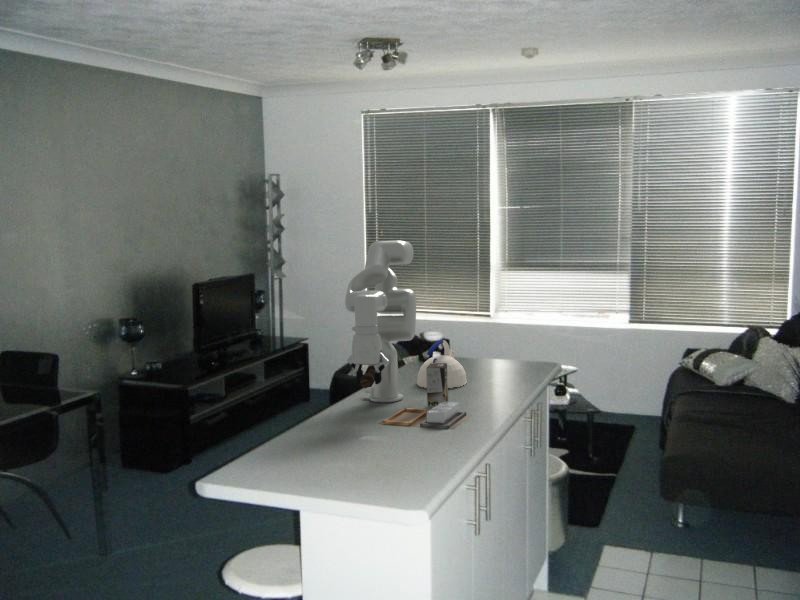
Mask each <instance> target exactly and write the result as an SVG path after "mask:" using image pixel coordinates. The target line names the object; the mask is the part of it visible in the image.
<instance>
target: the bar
mask: <svg viewBox="0 0 800 600" xmlns="http://www.w3.org/2000/svg"><path fill="white" fill-rule="evenodd" d="M460 407H461V406H460V402H455V401H448V402H441V403H440V404H438V405H437V406H435V407H434V408H432V409H431V410H429V411H428V412H427V423H428V424H442V425H447V424H449V423H450V422H451V421H453V420H454V419H455V418H457V417H458V416H459V415H460V412H461V411H460V409H461V408H460Z"/></svg>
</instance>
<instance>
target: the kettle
mask: <svg viewBox="0 0 800 600" xmlns="http://www.w3.org/2000/svg"><path fill="white" fill-rule="evenodd" d="M441 344H442V345H443V348H444V349H443V350H444V353H443V354H441V355H435V356H432V355H433V352H434V351H435V350H436V348H437V347H438V346H440V345H441ZM456 355H457V353H456V351H455V350H453V349H450V345H449V343H448V342H447V341H446V340H445V339H444V340H443V339H440V340H437V341H435V343H433V344H432V345H431V346H430V348H429V350H428V351H427V353H426V356H432V357H430V358H428V359H427V360H426V361H424V363H423V364H422V365H421V366H420V368H419V369H418V373H417V382H416V385H417V386H418V387H420V388H423V387H424V389H427V372H426V368H427V367H428V365H429V364H430V363H432V364H435V363H447V377H448V388H450V389H454V388H453V387H457V388H461V387H464V386H466V385H467V384H466V383H468V382H467V381H468V380H467V373H466V371H465V368H464V366H463V365H462V364H461V363H460V362H459V361H458V360H456V359H455V356H456ZM465 384H466V385H465ZM463 385H464V386H463ZM460 386H461V387H460Z"/></svg>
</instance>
